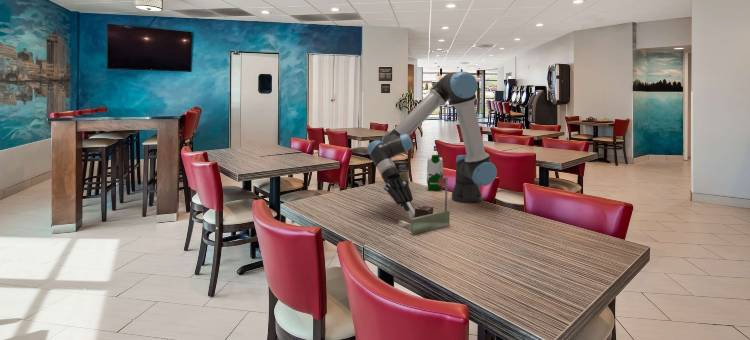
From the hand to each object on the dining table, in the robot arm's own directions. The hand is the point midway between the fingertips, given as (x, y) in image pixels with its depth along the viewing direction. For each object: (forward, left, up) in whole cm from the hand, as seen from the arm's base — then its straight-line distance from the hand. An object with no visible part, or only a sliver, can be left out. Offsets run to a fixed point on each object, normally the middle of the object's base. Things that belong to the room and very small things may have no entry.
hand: (413, 216), depth 181 cm
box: (-4, +2, -3) cm, 5 cm away
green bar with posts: (-2, +3, -3) cm, 5 cm away
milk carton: (-21, -65, -3) cm, 69 cm away
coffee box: (-1, -65, -3) cm, 65 cm away
